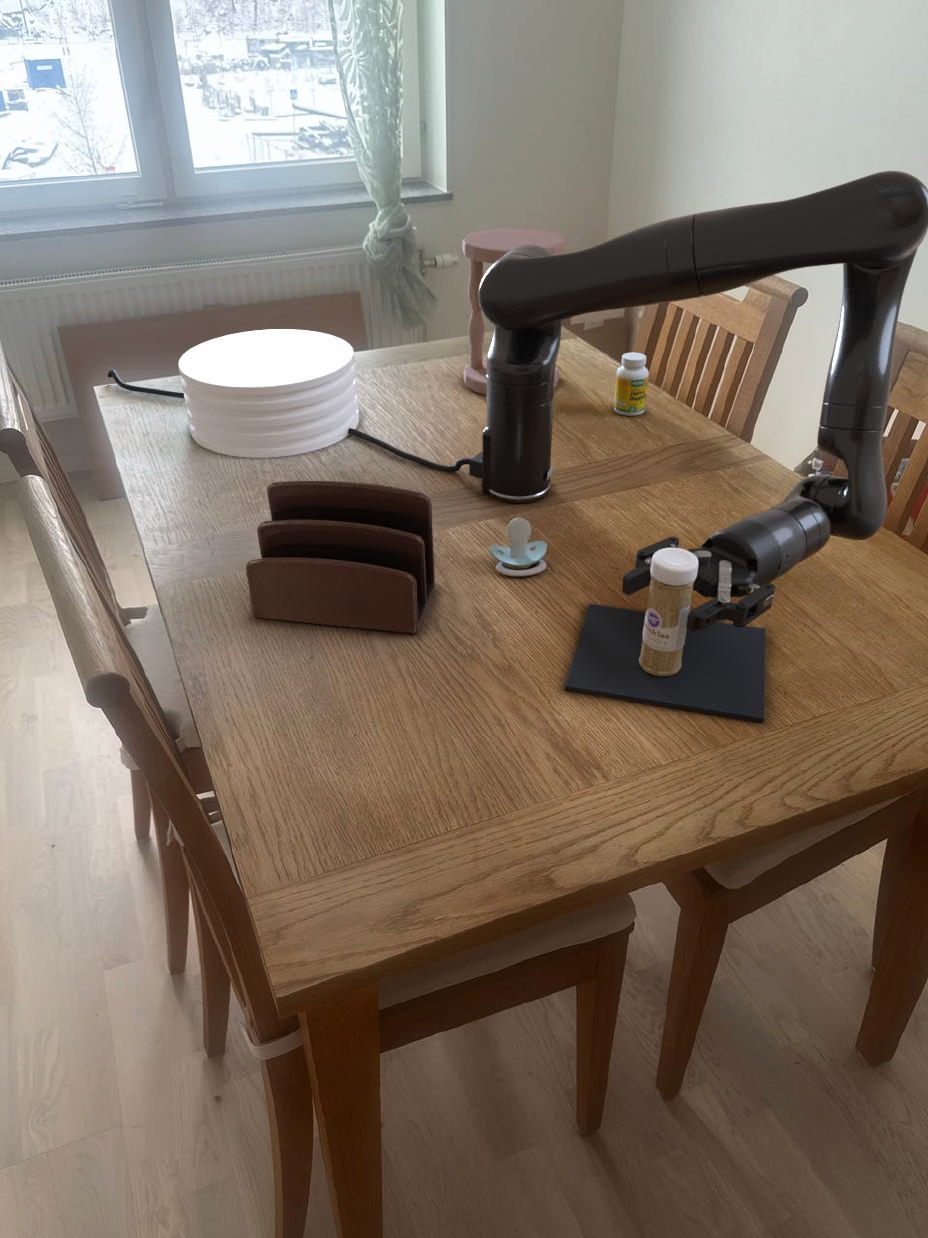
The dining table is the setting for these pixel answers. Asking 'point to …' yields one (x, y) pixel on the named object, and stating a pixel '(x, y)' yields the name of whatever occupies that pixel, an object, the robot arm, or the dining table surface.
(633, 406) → the supplement bottle
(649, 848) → the dining table surface
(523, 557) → the pacifier
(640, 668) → the placemat
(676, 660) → the sprinkles bottle
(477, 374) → the hourglass
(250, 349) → the plate stack
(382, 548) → the letter holder
